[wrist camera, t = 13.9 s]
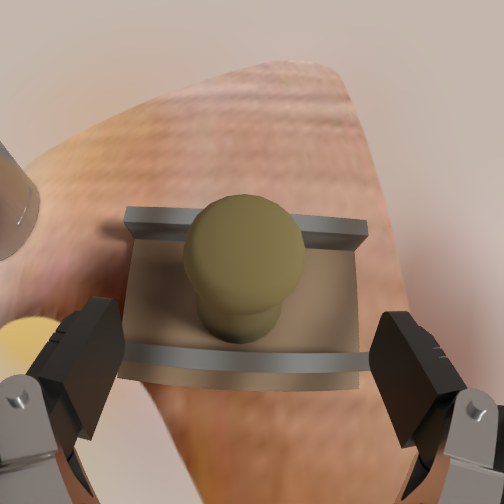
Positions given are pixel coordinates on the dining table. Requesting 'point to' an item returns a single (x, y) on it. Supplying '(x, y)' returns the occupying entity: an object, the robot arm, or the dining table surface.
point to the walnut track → (250, 354)
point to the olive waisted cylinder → (242, 265)
